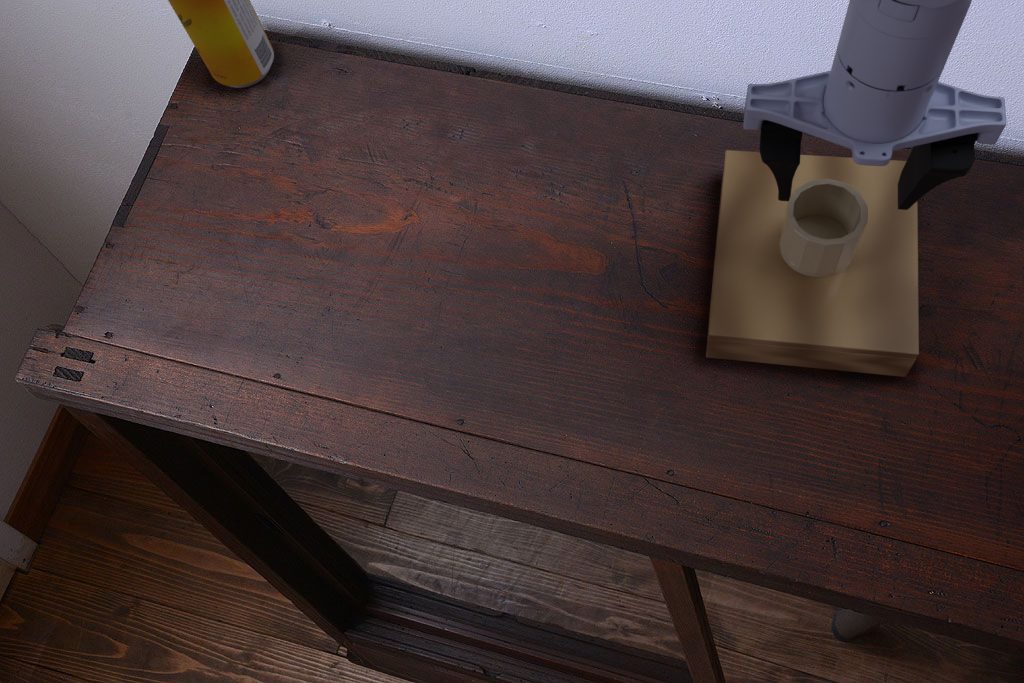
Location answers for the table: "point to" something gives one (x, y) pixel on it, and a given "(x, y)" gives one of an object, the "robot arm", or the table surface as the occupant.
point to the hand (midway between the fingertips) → (842, 192)
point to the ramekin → (822, 227)
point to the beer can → (227, 39)
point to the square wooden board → (814, 300)
